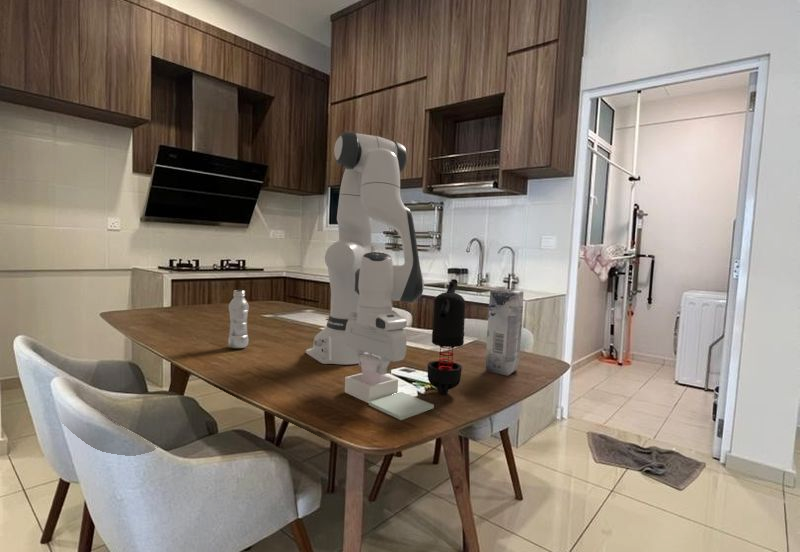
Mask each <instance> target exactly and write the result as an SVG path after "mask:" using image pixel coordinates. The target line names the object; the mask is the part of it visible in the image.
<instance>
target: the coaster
mask: <svg viewBox="0 0 800 552" xmlns="http://www.w3.org/2000/svg"><path fill="white" fill-rule="evenodd" d="M368 406H370V407H372V408H374V409H375V410H378V411H380V412H382V413H385V414H387V415H389V416H391V417H394V418H396V419H398V420H399V421H403V420H406V419H408V418H411V417H413V416H416V415H420V414H423V413H424V412H427V411H429V410H433V409H434V408H435V405H434V404H433V403H430V402H427V401H425V400H423V399H420V398H417V397H415V396H413V395H410V394H408V393H405V392H404V391H403V392H402V391H400V392H398V393H396V394H393V395H389V396H386V397H383V398H380V399H376V400H373V401H370V402H369V403H368Z"/></svg>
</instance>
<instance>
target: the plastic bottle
mask: <svg viewBox="0 0 800 552" xmlns="http://www.w3.org/2000/svg"><path fill="white" fill-rule="evenodd" d="M232 296H233V298H232V299H231V301H230V302H229V304H228V312H229V321H230V323H229V335H228V339H227V343H228V346H229V348H231V349H238V350H239V349H244V348H246V347H248V345H249V335H248V314H249V308H250V305H249V303H248V301H247V299H246V298H245V296H246V290H245V289H244V290H243V289H235V290H233V294H232Z"/></svg>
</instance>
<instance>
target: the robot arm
mask: <svg viewBox="0 0 800 552" xmlns="http://www.w3.org/2000/svg"><path fill="white" fill-rule="evenodd" d="M333 150H334V151H333V152H334V160H335V162H336V164H337V165H338V166H340V167H342V168H344V169H345V170H344V172H343V176H342V179H341V183H340V189H339V195H338V196H339V197H338V205H337V213H336V214H337V215H336V222H337V225H338V226H337V227H338V240H336V241H335V242H333V243H332V244H331V245H330V246H329V247H327V249H326V251H325V255H324V261H325V262H324V263H325V265H326V267H327V271H328V272H327V273H328V280H329V287H330V315H329V316H325V321H326V322H327V323H326V325H325V326H326V327H324V328H323V329H322V330H321V331H319V332H318V333H317V334H316V335H315V336H314V337H313V344H312V345H313V346H312V347H310V348H308V349H306V350H305V353H306V354H307V355H308V356H310V357H311V358H313V359H314V360H316V361H318V362H319V363H321V364H324V365H328V364H330V365H331V364H333V365H357V364H358V367H360V368H361V361H360V356H361V355H363V354H369V353H370V354H373V355H376V356H379V357H381V361H382V364H381V366H379V367H378V371H377V372H378V373H379V374H381V375H384V374H385V375H387V368H388V366H389V365H390V363H391V362H399V361H402V360H404V359H405V357H406V355H407V333H406V330H405V329H406V327H407V323H408V322H407V320H406V319H405V318H404V317H402V316H401V315H400V314H398V313H397V312H396V311H395V310H393V301H398V302H403V303H410V304H411V303H413V302H415V301H417V300H418V299H419V298H421V297H422V296H423V293H424V289H425V281H424V280H425V279H424V276H423V273H422V270H421V269H422V268H421V264H420V259H419V257H420V256H419V250H418V243H417V238H416V229H415V223H414V218H413V214H412V211H411V209H410V208H408V207H407V206H405V204H404V202H403V201H402V197H401V173H403V171H404V169H405V168H406V164H407V161H408V160H407V159H408V154H407V153H408V152H407V150H406V147H405V146H404V145H403V144H402V143H399V142H397V141H396V140H391V139H390V140H389V139H387V138H384V137H381V136H379V135H370V134H365V133H364V134H363V133H356V132H355V131H343V132H342V133H341V134H339V136H338V137H337V139H336V141H335V144H334V149H333ZM372 220H374V221H376V222H378V223H380V224H382V225H385V226H387V227H389V228H391V229H393V230H395V231H396V233H397V234H398V235H399V236H400V239H401V245H402V251H403V252H402V253H403V259H404V260H403V261H404V263H403V264H402V265H396V264H393V257H392V256H391V255H390V254H388V253H384V252H377V251H376V252H375V251H374V252H373V251H372Z"/></svg>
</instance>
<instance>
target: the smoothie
mask: <svg viewBox="0 0 800 552" xmlns="http://www.w3.org/2000/svg"><path fill="white" fill-rule="evenodd" d="M360 361H361V367H360V368H361V373H362V379H363V383H365V384H367V385H370V386H371V385H375V384H378V383H380V379H381V374H379V373H378V372H377V371H378V367H379V366H381V364H382V361H381V357H379V356H376V355H373V354H370V353H369V354H363V355H361V356H360Z"/></svg>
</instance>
